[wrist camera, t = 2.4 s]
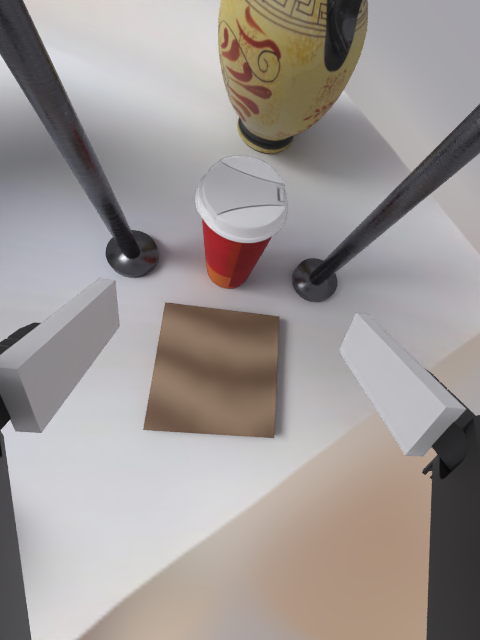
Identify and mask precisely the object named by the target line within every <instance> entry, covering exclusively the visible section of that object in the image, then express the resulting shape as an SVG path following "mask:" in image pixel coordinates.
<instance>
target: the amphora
mask: <svg viewBox="0 0 480 640" xmlns="http://www.w3.org/2000/svg"><path fill="white" fill-rule="evenodd" d="M367 23H368V1H367V0H221V3H220V11H219V20H218V44H219V57H220V64H221V71H222V76H223V80H224V84H225V87H226V90H227V93H228V96H229V99H230V102H231V104H232V106H233V108H234V110H235V111H236V113H237V115H238V116H239V119H238V124H237V127H238V132H239V135H240V137H241V138H242V139H243V141H244V142H245V143H246V144H247V145H248V146H250V147H251V148H253V149H255V150H257V151H260V152H264V153H276V152H280V151H282V150H284V149H286V148H287V147H288V146H289V145H290V144H291V142H292V140H293V137H294V135H297V134H299V133H301V132H303V131H305V130H307V129H308V128H310V127H311V126H312V125H313V124H315V123H316V122H317V121H318V120H319V119H320V118H321V117H322V116H323V115H324V114H325V113H326V112H327V111H328V110H329V109H330V108H331V107H332V105H333V104H334V103H335V102H336V100H337V99H338V97H339V96H340V94H341V93H342V91H343V90H344V88H345V86H346V84H347V83H348V81H349V79H350V77H351V75H352V73H353V71H354V69H355V67H356V64H357V62H358V60H359V57H360V55H361V51H362V48H363V45H364V40H365V36H366V31H367Z"/></svg>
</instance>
